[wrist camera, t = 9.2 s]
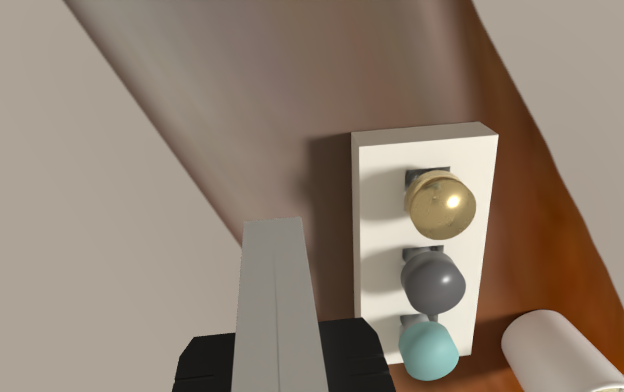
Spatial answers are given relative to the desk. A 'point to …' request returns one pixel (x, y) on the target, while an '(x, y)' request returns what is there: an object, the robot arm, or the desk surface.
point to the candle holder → (556, 356)
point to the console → (401, 231)
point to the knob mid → (431, 280)
